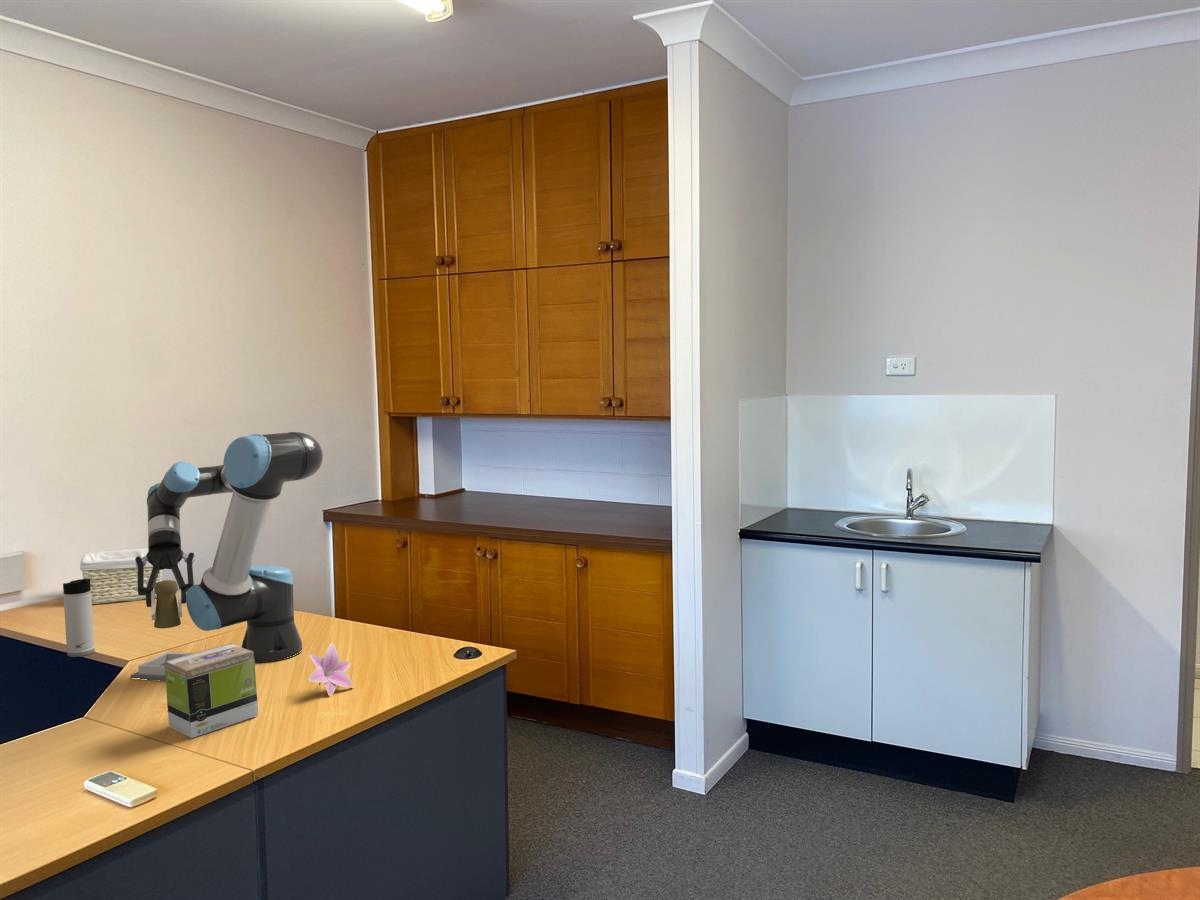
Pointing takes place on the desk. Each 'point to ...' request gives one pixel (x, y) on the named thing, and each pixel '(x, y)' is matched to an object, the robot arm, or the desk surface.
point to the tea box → (211, 689)
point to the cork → (166, 605)
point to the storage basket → (115, 575)
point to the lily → (330, 670)
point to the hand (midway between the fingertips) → (166, 615)
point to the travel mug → (78, 618)
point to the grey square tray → (156, 666)
